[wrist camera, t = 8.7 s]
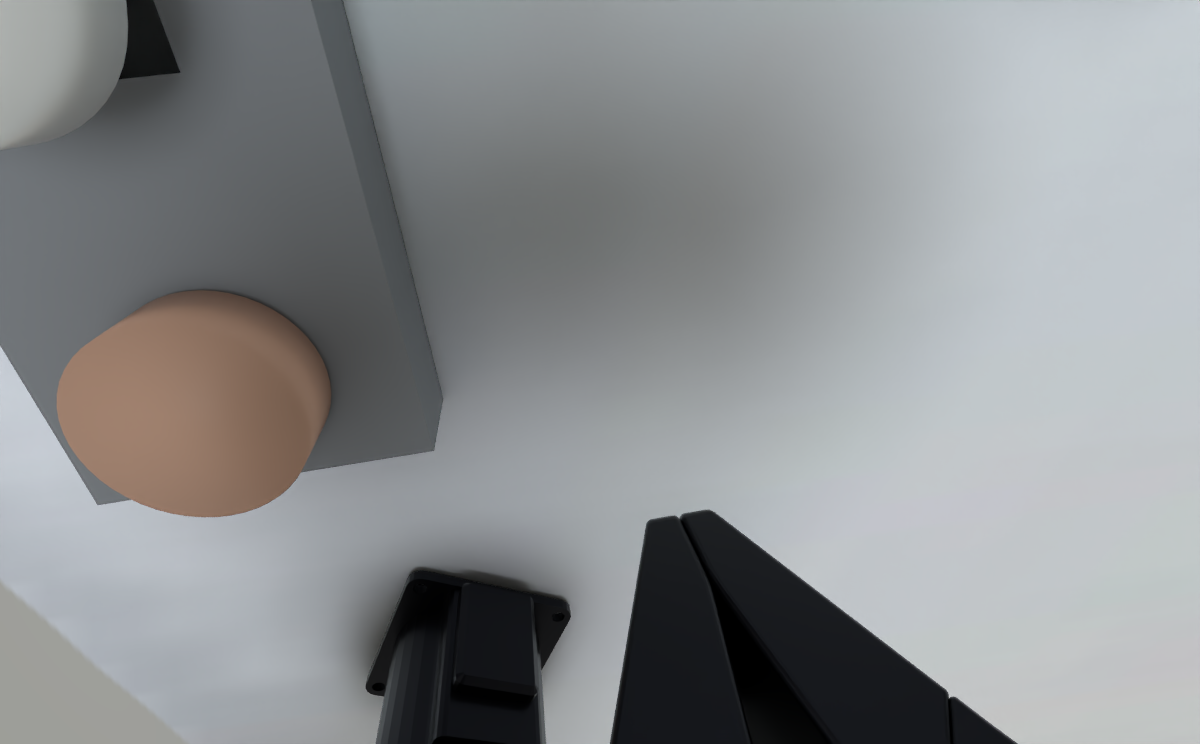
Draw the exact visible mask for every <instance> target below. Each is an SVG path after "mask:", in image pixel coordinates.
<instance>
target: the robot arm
mask: <svg viewBox="0 0 1200 744" xmlns="http://www.w3.org/2000/svg"><path fill="white" fill-rule="evenodd" d="M417 584H424V585H423V586H419V585H417ZM557 612H561V613H559V614H555V613H557ZM570 617H571V614H570V607H569V604H568V603H567V602H565V601H563V600H559V599H554V598H549V597H544V596H540V595H535V594H530V593H526V592H521V591H516V590H512V589H507V588H502V587H498V586H493V585H488V584H484V583H479V582H474V581H470V580H465V579H460V578H456V577H451V576H446V575H442V574H437V573H432V572H428V571H416V572H414V573H412V574H410V576H409V577H408V579H407V581H406V584H405V586H404V589H403V591H402V594H401V596H400V599H399V601H398V603H397V606H396V608H395V611H394V613H393V616H392V618H391V621H390V623H389V626H388V628H387V630H386V633H385V635H384V638H383V640H382V643H381V645H380V648H379V650H378V653H377V655H376V657H375V660H374V662H373V665H372V667H371V670H370V672H369V675H368V678H367V682H366V690H367V691H368V692H369V693H370V694H373V695H378V696H384V701H383V706H382V712H381V717H380V722H379V728H378V733H377V738H376V744H546V737H545V721H544V706H543V690H542V674H541V670H542V668H543V667H544V665H545V663H546V661H547V659H548V658H549V656H550V654H551V652H552V650H553V649H554V647H555V645H556V643H557V641H558V640H559V638H560V636H561V634H562V633H563V631H564V629H565V627H566V625H567V624H568V622H569V620H570ZM610 744H1017V743H1016V742H1015V741H1013V740H1012V739H1011V738H1009V737H1008V736H1006V735H1005V734H1004V733H1002V732H1001V731H1000V730H998V729H997V728H996V727H994V726H993V725H992V724H990V723H989V722H988V721H986V720H985V719H984V718H982V717H981V716H980V715H978V714H977V713H976V712H975V711H973V710H972V709H971V708H969V707H968V706H967V705H965V704H964V703H963V702H962V701H960V700H959V699H958V698H956V697H950V698H949V695H948V692H947V690H945V689H944V688H943V687H942V686H940V685H939V684H938V683H936V682H935V681H934V680H932V679H931V678H930V677H928V676H927V675H926V674H925V673H923V672H922V671H921V670H919V669H918V668H917V667H915V666H914V665H913V664H912V663H910V662H909V661H908V660H906V659H905V658H904V657H902V656H901V655H900V654H899V653H897V652H896V651H895V650H893V649H892V648H891V647H889V646H888V645H887V644H886V643H884V642H883V641H882V640H880V639H879V638H878V637H876V636H875V635H874V634H872V633H871V632H870V631H869V630H867V629H866V628H865V627H863V626H862V625H861V624H859V623H858V622H857V621H856V620H854V619H853V618H852V617H850V616H849V615H848V614H846V613H845V612H844V611H843V610H841V609H840V608H839V607H837V606H836V605H835V604H833V603H832V602H831V601H830V600H828V599H827V598H826V597H824V596H823V595H822V594H820V593H819V592H818V591H816V590H815V589H814V588H813V587H811V586H810V585H809V584H807V583H806V582H805V581H803V580H802V579H801V578H800V577H798V576H797V575H796V574H794V573H793V572H792V571H790V570H789V569H788V568H787V567H785V566H784V565H783V564H781V563H780V562H779V561H777V560H776V559H775V558H773V557H772V556H771V555H770V554H768V553H767V552H766V551H764V550H763V549H762V548H760V547H759V546H758V545H757V544H755V543H754V542H753V541H751V540H750V539H749V538H747V537H746V536H745V535H744V534H742V533H741V532H740V531H738V530H737V529H736V528H734V527H733V526H732V525H731V524H729V523H728V522H727V521H725V520H724V519H723V518H721V517H720V516H719V515H717V514H716V513H715V512H713V511H711V510H701V511H696V512H690V513H684V514H682V515H681V516H680V519H679V518H678V517H677V516H667V517H661V518H656V519H651V520H649V521H648V522H647V524H646V529H645V535H644V541H643V547H642V553H641V559H640V565H639V571H638V577H637V583H636V589H635V595H634V602H633V608H632V614H631V620H630V626H629V632H628V638H627V644H626V650H625V656H624V662H623V668H622V674H621V680H620V686H619V692H618V698H617V704H616V710H615V716H614V722H613V728H612V734H611V740H610Z"/></svg>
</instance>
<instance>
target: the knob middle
mask: <svg viewBox="0 0 1200 744" xmlns="http://www.w3.org/2000/svg"><path fill="white" fill-rule="evenodd" d="M127 39H128V17H127V5H126V0H0V150H4V149H10V148H15V147H21V146H27V145H32V144H37V143H43V142H47V141H50V140H53V139H56V138H58V137H61V136H64V135H66V134H68V133H70V132H71V131H73V130H75V129H77V128H79V127H80V126H82V125H83V124H84V123H85V122H87V121H88V120H89V119H90V118H92V117H93V116H94V115H95V114H96V113H97V112H98V111H99V110H100V108H101V107H102V106H103V105H104V104H105V103H106V102H107V100H108V98H109V97H110V95H111V93H112V92H113V90H114V88H115V86H116V84H117V82H118V79H119V77H120V74H121V71H122V69H123V65H124V60H125V55H126V50H127Z"/></svg>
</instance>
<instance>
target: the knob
mask: <svg viewBox="0 0 1200 744" xmlns="http://www.w3.org/2000/svg"><path fill="white" fill-rule="evenodd" d="M330 405H331V386H330V380H329V376H328V372H327V369H326V367H325V364H324V362H323V360H322V358H321V356H320V354H319V353H318V351H317V349H316V348H315V346H314V345H313V344H312V343H311V341H310V340H309V339H308V337H307V336H306V335H305V334H304V333H303V332H302V331H301V330H300V329H299V328H298V327H297V326H295V325H294V324H293V323H292V322H290V321H289V320H288V319H287V318H285V317H284V316H282V315H281V314H279V313H278V312H276V311H274V310H273V309H271V308H269V307H267V306H265V305H263V304H261V303H259V302H256V301H253V300H251V299H248V298H246V297H242V296H238V295H235V294H231V293H225V292H219V291H206V290H195V291H183V292H178V293H173V294H169V295H166V296H163V297H160V298H157V299H155V300H153V301H151V302H149V303H147V304H145V305H143V306H142V307H140V308H139V309H137V310H136V311H134V312H133V313H132V314H130V315H129V316H127V317H126V318H124V319H123V320H121V321H120V322H118V323H117V324H115V325H114V326H112V327H111V328H109V329H108V330H106V331H105V332H103V333H102V334H101V335H99V336H98V337H96V338H95V339H93V340H92V341H90V342H89V343H88V344H86V345H85V346H84V347H82V348H81V349H80V350H79V351H78V352H77V353H76V354H75V355H74V356H73V357H72V358H71V360H70V361H69V363H68V364H67V366H66V368H65V369H64V371H63V374H62V376H61V379H60V381H59V385H58V390H57V413H58V419H59V423H60V426H61V429H62V431H63V434H64V436H65V438H66V440H67V442H68V444H69V446H70V447H71V449H72V450H73V452H74V453H75V454H76V456H77V457H78V459H79V460H80V461H81V462H82V463H83V464H84V465H85V466H86V468H87V469H88V470H89V471H90V472H92V473H93V474H94V475H95V476H96V477H97V478H98V479H99V480H101V481H102V482H103V483H105V484H106V485H108V486H109V487H110V488H112V489H113V490H115V491H117V492H118V493H120V494H122V495H124V496H125V497H127V498H129V499H131V500H134V501H136V502H138V503H140V504H143V505H145V506H148V507H151V508H154V509H157V510H160V511H164V512H168V513H172V514H178V515H184V516H194V517H221V516H229V515H235V514H239V513H244V512H247V511H250V510H253V509H256V508H259V507H261V506H263V505H265V504H267V503H269V502H271V501H272V500H274V499H275V498H277V497H278V496H280V495H281V494H282V493H283V492H285V491H286V490H287V489H288V488H289V487H290V486H291V485H292V484H293V482H294V481H295V480H296V479H297V477H298V476H299V474H300V472H301V471H302V469H303V467H304V465H305V463H306V461H307V459H308V457H309V455H310V453H311V451H312V449H313V447H314V445H315V443H316V441H317V439H318V437H319V435H320V433H321V431H322V429H323V427H324V424H325V422H326V419H327V417H328V414H329V410H330Z"/></svg>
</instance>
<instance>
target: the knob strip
mask: <svg viewBox="0 0 1200 744" xmlns="http://www.w3.org/2000/svg"><path fill="white" fill-rule="evenodd" d="M153 1H154V3H155V6H156V9H157V11H158V14H159V17H160V19H161V22H162V25H163V27H164V30H165V33H166V35H167V38H168V41H169V43H170V46H171V49H172V51H173V54H174V57H175V59H176V62H177V65H178V67H179V70H180V73H173V74H164V75H155V76H146V77H137V78H128V79H119V80H118V82H117V84H116V86H115V88H114V90H113V92H112V93H111V95H110V97H109V98H108V100H107V102H106V103H105V104H104V105H103V106H102V107H101V108H100V110H99V111H98V112H97V113H96V114H95V115H94V116H93V117H92V118H90V119H89V120H88V121H87V122H85V123H84V124H83V125H82V126H80V127H79V128H77V129H75V130H73V131H71V132H70V133H68V134H66V135H64V136H61V137H58V138H56V139H53V140H50V141H47V142H43V143H37V144H32V145H27V146H21V147H15V148H10V149H4V150H0V346H1V347H2V349H3V351H4V352H5V354H6V356H7V357H8V359H9V361H10V362H11V364H12V365H13V367H14V369H15V370H16V372H17V374H18V375H19V377H20V379H21V380H22V382H23V383H24V385H25V387H26V388H27V390H28V392H29V393H30V395H31V397H32V398H33V400H34V401H35V403H36V405H37V406H38V408H39V410H40V411H41V413H42V415H43V416H44V418H45V419H46V421H47V423H48V424H49V426H50V428H51V429H52V431H53V433H54V434H55V436H56V438H57V439H58V441H59V442H60V444H61V446H62V447H63V449H64V451H65V452H66V454H67V456H68V457H69V459H70V460H71V462H72V464H73V465H74V467H75V469H76V470H77V472H78V474H79V475H80V477H81V478H82V480H83V482H84V483H85V485H86V487H87V488H88V490H89V492H90V493H91V495H92V496H93V498H94V500H95V501H96V503H97V505H102V504H108V503H114V502H120V501H126V500H131V499H129V498H127V497H125V496H124V495H122V494H120V493H118V492H117V491H115V490H113V489H112V488H110V487H109V486H108V485H106V484H105V483H103V482H102V481H101V480H99V479H98V478H97V477H96V476H95V475H94V474H93V473H92V472H90V471H89V470H88V469H87V468H86V466H85V465H84V464H83V463H82V462H81V461H80V460H79V459H78V457H77V456H76V454H75V453H74V452H73V450H72V449H71V447H70V446H69V444H68V442H67V440H66V438H65V436H64V434H63V431H62V429H61V426H60V423H59V419H58V413H57V390H58V385H59V381H60V379H61V376H62V374H63V371H64V369H65V368H66V366H67V364H68V363H69V361H70V360H71V358H72V357H73V356H74V355H75V354H76V353H77V352H78V351H79V350H80V349H81V348H82V347H84V346H85V345H86V344H88V343H89V342H90V341H92V340H93V339H95V338H96V337H98V336H99V335H101V334H102V333H103V332H105V331H106V330H108V329H109V328H111V327H112V326H114V325H115V324H117V323H118V322H120V321H121V320H123V319H124V318H126V317H127V316H129V315H130V314H132V313H133V312H134V311H136V310H137V309H139V308H140V307H142V306H143V305H145V304H147V303H149V302H151V301H153V300H155V299H157V298H160V297H163V296H166V295H169V294H173V293H178V292H183V291H195V290H206V291H219V292H225V293H231V294H235V295H238V296H242V297H246V298H248V299H251V300H253V301H256V302H259V303H261V304H263V305H265V306H267V307H269V308H271V309H273V310H274V311H276V312H278V313H279V314H281V315H282V316H284V317H285V318H287V319H288V320H289V321H290V322H292V323H293V324H294V325H295V326H297V327H298V328H299V329H300V330H301V331H302V332H303V333H304V334H305V335H306V336H307V337H308V339H309V340H310V341H311V343H312V344H313V345H314V346H315V348H316V349H317V351H318V353H319V354H320V356H321V358H322V360H323V362H324V364H325V367H326V369H327V372H328V376H329V380H330V386H331V405H330V410H329V414H328V417H327V419H326V422H325V424H324V427H323V429H322V431H321V433H320V435H319V437H318V439H317V441H316V443H315V445H314V447H313V449H312V451H311V453H310V455H309V457H308V459H307V461H306V463H305V465H304V467H303V469H302V471H301V472H305V471H312V470H318V469H324V468H330V467H336V466H342V465H349V464H355V463H361V462H367V461H373V460H379V459H386V458H392V457H398V456H404V455H410V454H416V453H423V452H429V451H434V447H435V442H436V436H437V430H438V425H439V419H440V413H441V408H442V402H443V397H442V393H441V389H440V385H439V381H438V377H437V373H436V369H435V365H434V361H433V357H432V353H431V349H430V345H429V341H428V337H427V333H426V329H425V325H424V321H423V318H422V314H421V310H420V306H419V302H418V298H417V294H416V290H415V286H414V282H413V278H412V274H411V270H410V266H409V262H408V258H407V254H406V250H405V246H404V242H403V238H402V234H401V231H400V227H399V223H398V219H397V215H396V211H395V207H394V203H393V199H392V195H391V191H390V187H389V183H388V179H387V175H386V171H385V167H384V163H383V159H382V155H381V151H380V147H379V144H378V140H377V136H376V132H375V128H374V124H373V120H372V116H371V112H370V108H369V104H368V100H367V96H366V92H365V88H364V84H363V80H362V76H361V72H360V68H359V64H358V60H357V57H356V53H355V49H354V45H353V41H352V37H351V33H350V29H349V25H348V21H347V17H346V13H345V9H344V5H343V1H342V0H153Z"/></svg>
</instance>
